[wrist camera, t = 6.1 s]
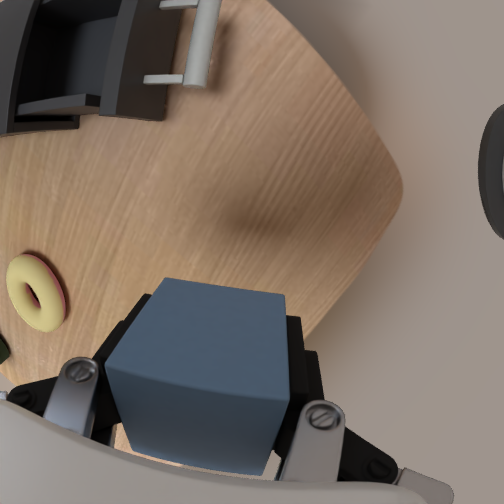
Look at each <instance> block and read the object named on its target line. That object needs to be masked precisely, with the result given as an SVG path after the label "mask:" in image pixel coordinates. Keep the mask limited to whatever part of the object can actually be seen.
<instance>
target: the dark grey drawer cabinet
mask: <svg viewBox="0 0 504 504" xmlns="http://www.w3.org/2000/svg"><path fill="white" fill-rule="evenodd" d="M40 1H41V0H3V1H2V2H0V137H5V136H12V135H19V134H27V133H36V132H46V131H58V130H72V129H78V127H79V117H80V115H73V116H63V117H54V118H46V119H24V120H14V116H15V107H16V99H17V92H18V85H19V79H20V74H21V69H22V64H23V59H24V55H25V50H26V46H27V42H28V39H29V35H30V31H31V28H32V25H33V21H34V18H35V15H36V12H37V9H38V6H39V3H40Z"/></svg>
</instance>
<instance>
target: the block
mask: <svg viewBox="0 0 504 504" xmlns="http://www.w3.org/2000/svg"><path fill="white" fill-rule="evenodd" d="M105 370H106V373H107V377H108V380H109V384H110V387H111V391H112V394H113V397H114V400H115V404H116V407H117V410H118V413H119V416H120V419H121V421H122V424H123V427H124V430H125V432H126V435H127V438H128V440H129V443H130V445H131V448H132V450H133V451H135V452H138V453H141V454H145V455H148V456H152V457H156V458H159V459H163V460H167V461H171V462H175V463H180V464H184V465H189V466H194V467H200V468H205V469H210V470H216V471H223V472H231V473H238V474H247V475H258V476H261V475H262V474H263V471H264V469H265V466H266V464H267V461H268V459H269V456H270V453H271V451H272V448H273V446H274V443H275V440H276V438H277V435H278V432H279V429H280V427H281V424H282V421H283V418H284V415H285V412H286V409H287V406H288V403H289V400H290V390H289V365H288V344H287V324H286V307H285V296H284V295H283V294H276V293H268V292H261V291H253V290H246V289H239V288H232V287H225V286H218V285H211V284H205V283H198V282H192V281H185V280H179V279H173V278H164V280H163V281H162V282H161V284H160V285H159V286H158V288H157V289H156V290H155V292H154V293H153V295H152V296H151V297H150V299H149V300H148V301H147V303H146V304H145V306H144V307H143V308H142V310H141V311H140V313H139V314H138V316H137V317H136V318H135V320H134V321H133V323H132V324H131V325H130V327H129V328H128V330H127V331H126V333H125V334H124V336H123V337H122V339H121V340H120V341H119V343H118V344H117V346H116V347H115V349H114V350H113V352H112V353H111V355H110V356H109V358H108V359H107V361H106V362H105Z"/></svg>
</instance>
